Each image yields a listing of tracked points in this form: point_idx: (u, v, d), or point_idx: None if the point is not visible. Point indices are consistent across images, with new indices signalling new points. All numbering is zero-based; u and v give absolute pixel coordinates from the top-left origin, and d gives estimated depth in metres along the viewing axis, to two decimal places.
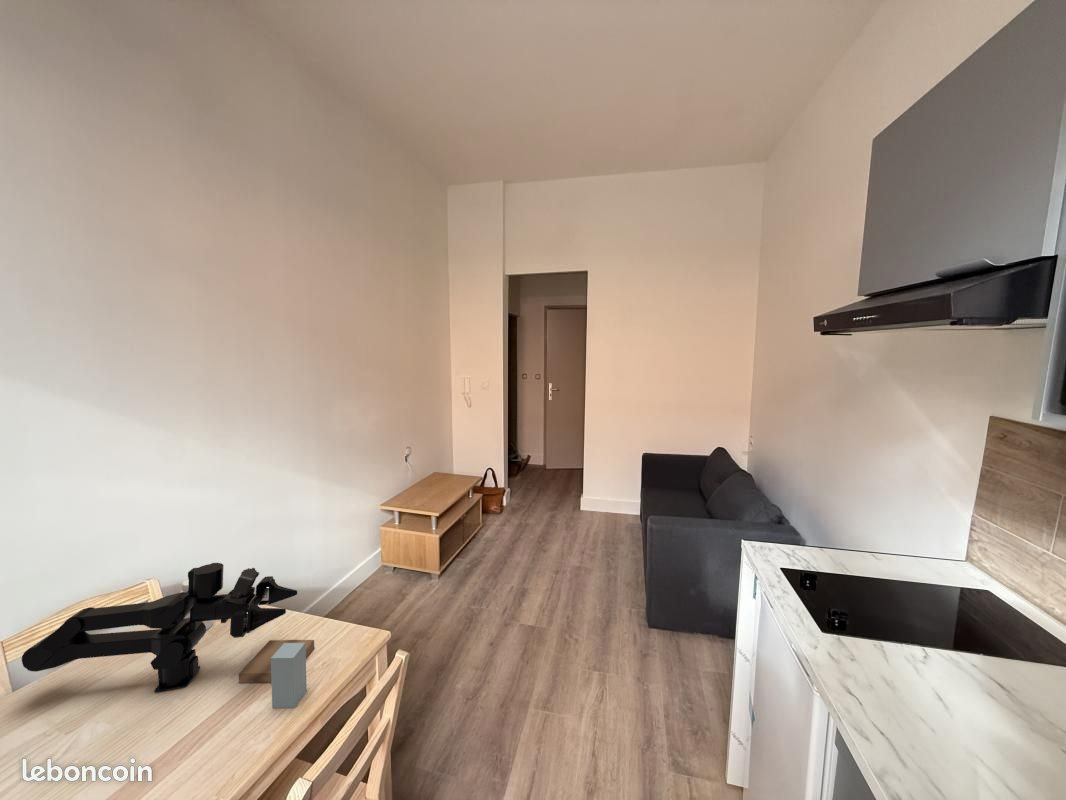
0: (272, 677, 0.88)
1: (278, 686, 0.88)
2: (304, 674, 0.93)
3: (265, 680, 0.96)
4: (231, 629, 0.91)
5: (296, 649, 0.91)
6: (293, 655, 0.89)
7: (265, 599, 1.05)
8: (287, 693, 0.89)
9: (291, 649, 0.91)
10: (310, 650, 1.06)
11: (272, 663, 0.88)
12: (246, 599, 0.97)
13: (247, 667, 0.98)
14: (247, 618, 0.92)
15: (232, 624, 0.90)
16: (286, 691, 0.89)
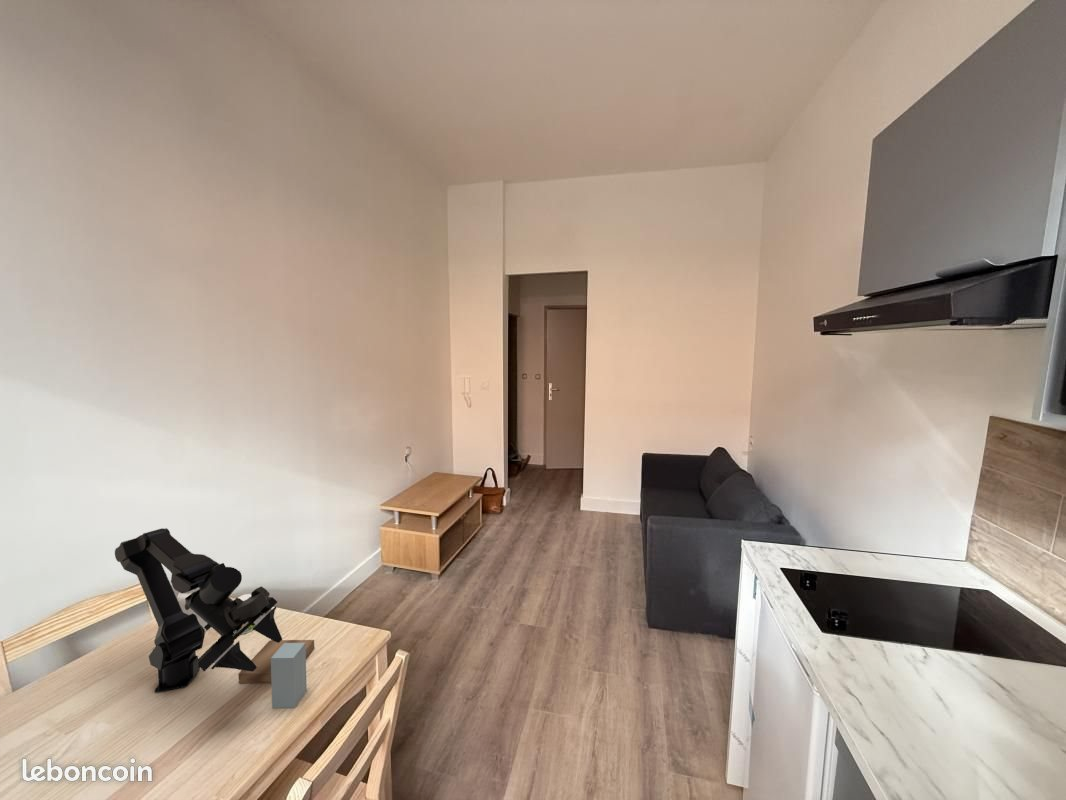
0: (272, 677, 0.88)
1: (278, 686, 0.88)
2: (304, 674, 0.93)
3: (265, 680, 0.96)
4: (202, 657, 0.81)
5: (296, 649, 0.91)
6: (293, 655, 0.89)
7: (254, 622, 0.95)
8: (287, 693, 0.89)
9: (291, 649, 0.91)
10: (310, 650, 1.06)
11: (272, 663, 0.88)
12: (238, 625, 0.88)
13: None
14: (221, 656, 0.82)
15: (206, 654, 0.80)
16: (286, 691, 0.89)
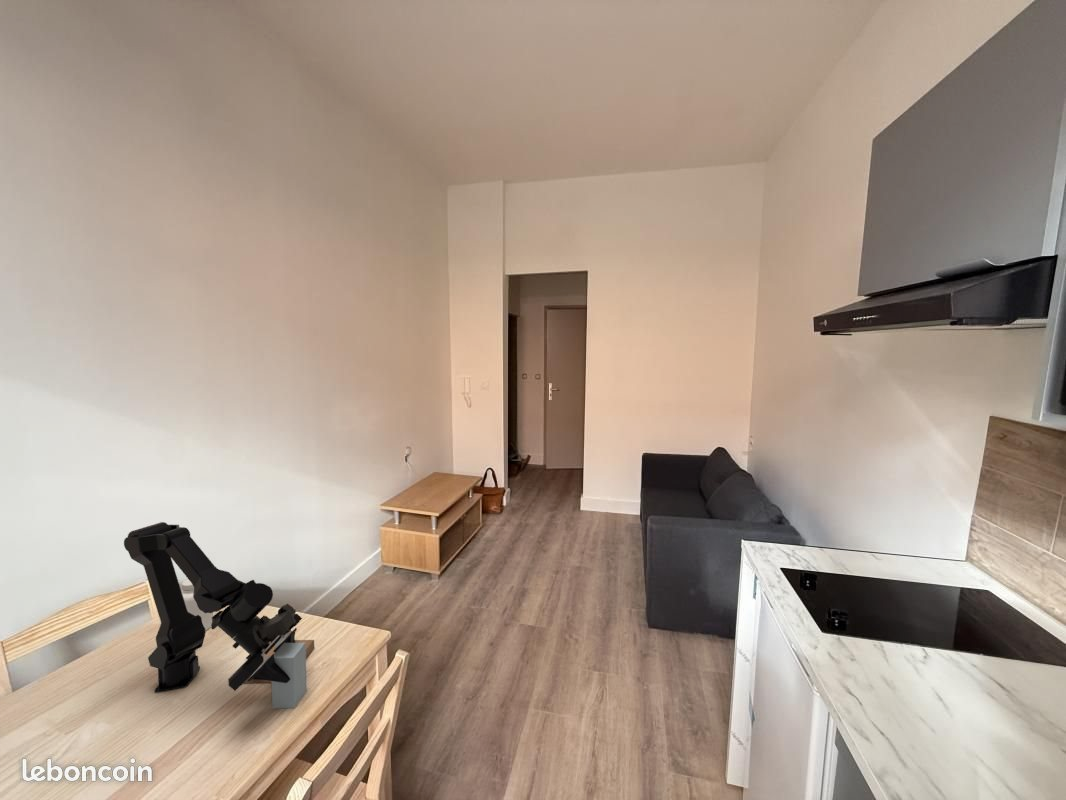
0: None
1: (278, 686, 0.88)
2: (304, 674, 0.93)
3: (265, 680, 0.96)
4: (232, 677, 0.81)
5: (296, 649, 0.91)
6: (293, 655, 0.89)
7: (274, 645, 0.94)
8: (287, 693, 0.89)
9: (291, 649, 0.91)
10: (310, 650, 1.06)
11: None
12: (266, 643, 0.88)
13: None
14: (258, 669, 0.84)
15: (237, 674, 0.81)
16: (286, 691, 0.89)
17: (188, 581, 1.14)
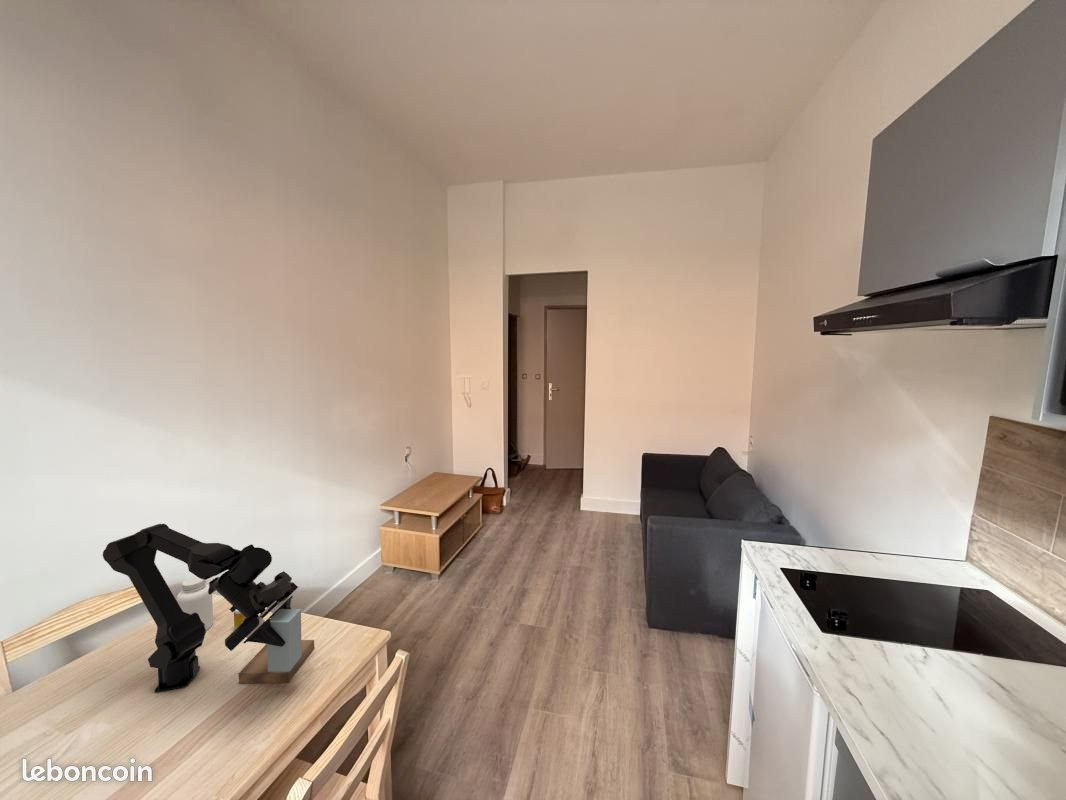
0: None
1: (274, 649, 0.91)
2: (299, 639, 0.95)
3: (265, 680, 0.96)
4: (229, 637, 0.83)
5: (292, 614, 0.93)
6: (289, 620, 0.91)
7: (271, 611, 0.96)
8: (282, 656, 0.91)
9: (287, 614, 0.93)
10: (310, 650, 1.06)
11: None
12: (262, 608, 0.90)
13: (247, 667, 0.98)
14: (253, 631, 0.87)
15: (233, 634, 0.83)
16: (281, 655, 0.91)
17: (188, 581, 1.14)
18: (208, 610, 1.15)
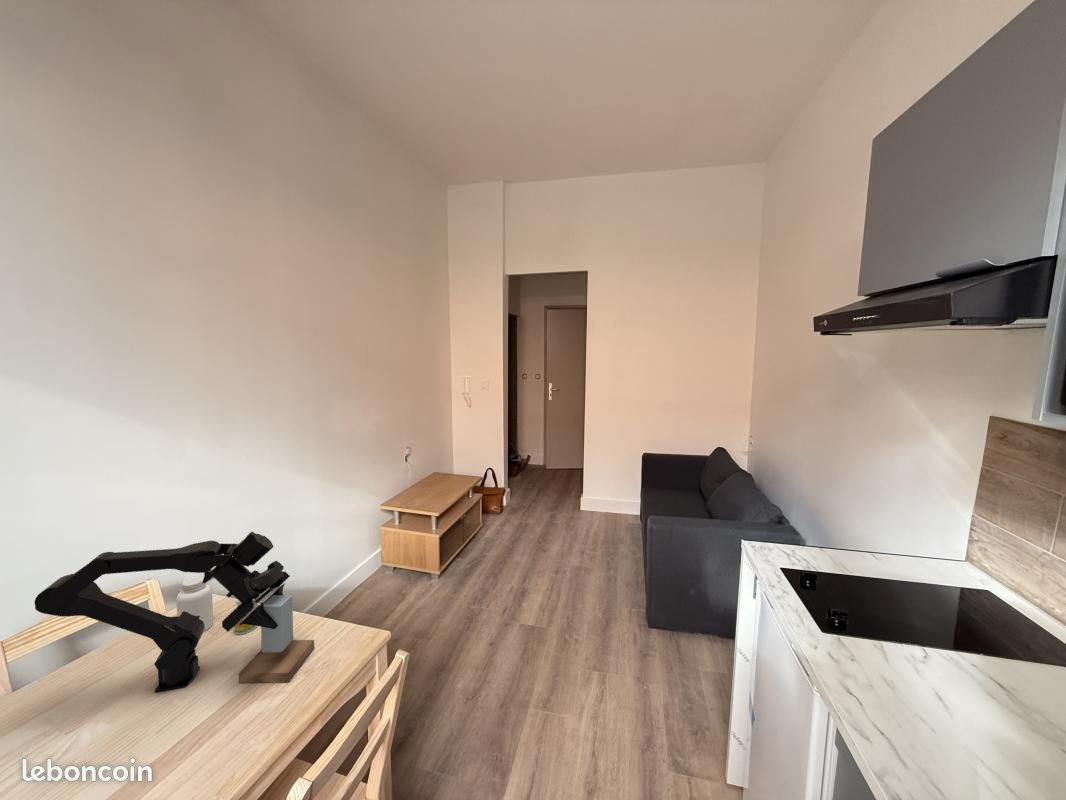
0: None
1: (267, 631, 0.99)
2: (291, 623, 1.03)
3: (265, 680, 0.96)
4: (226, 619, 0.91)
5: (284, 600, 1.01)
6: (281, 604, 0.99)
7: (264, 597, 1.04)
8: (275, 638, 0.99)
9: (279, 600, 1.01)
10: (310, 650, 1.06)
11: None
12: (256, 593, 0.98)
13: (247, 667, 0.98)
14: (248, 614, 0.95)
15: (230, 617, 0.91)
16: (274, 637, 0.99)
17: (188, 581, 1.14)
18: (208, 610, 1.15)
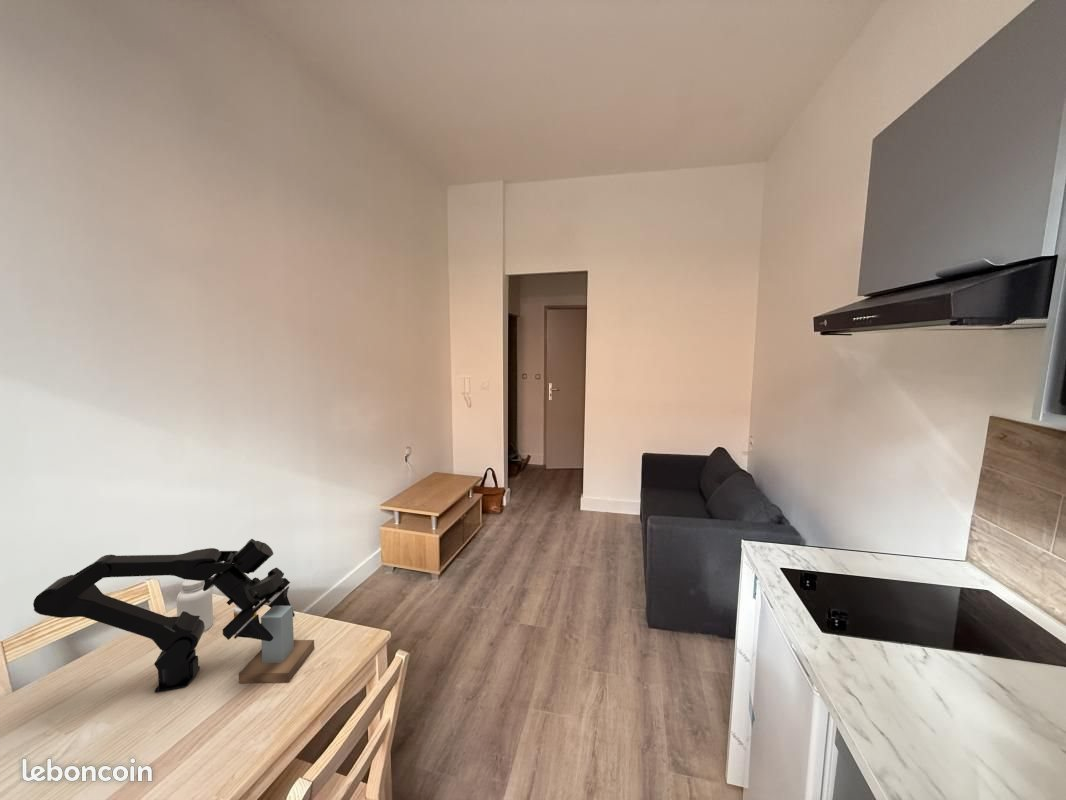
0: None
1: (268, 642, 0.99)
2: (291, 633, 1.03)
3: (265, 680, 0.96)
4: (226, 627, 0.92)
5: (284, 610, 1.01)
6: (281, 615, 0.99)
7: (269, 600, 1.06)
8: (276, 649, 0.99)
9: (279, 610, 1.01)
10: (310, 650, 1.06)
11: (262, 622, 0.98)
12: (257, 601, 0.99)
13: (247, 667, 0.98)
14: (243, 627, 0.93)
15: (230, 624, 0.91)
16: (274, 647, 0.99)
17: (188, 581, 1.14)
18: (208, 610, 1.15)
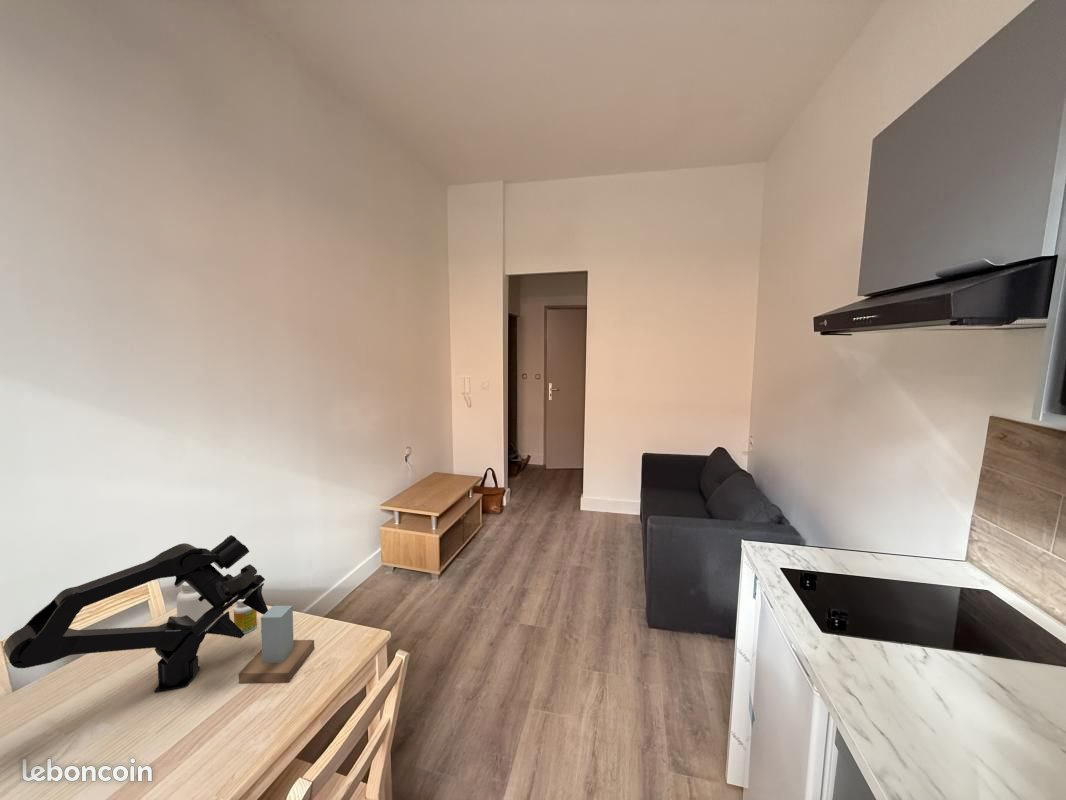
0: (262, 634, 0.99)
1: (268, 642, 0.99)
2: (291, 633, 1.03)
3: (265, 680, 0.96)
4: (195, 624, 0.91)
5: (284, 610, 1.01)
6: (281, 615, 0.99)
7: (243, 597, 1.06)
8: (276, 649, 0.99)
9: (279, 610, 1.01)
10: (310, 650, 1.06)
11: (262, 622, 0.98)
12: (228, 597, 0.98)
13: (247, 667, 0.98)
14: (213, 624, 0.92)
15: (199, 621, 0.91)
16: (274, 647, 0.99)
17: None
18: None
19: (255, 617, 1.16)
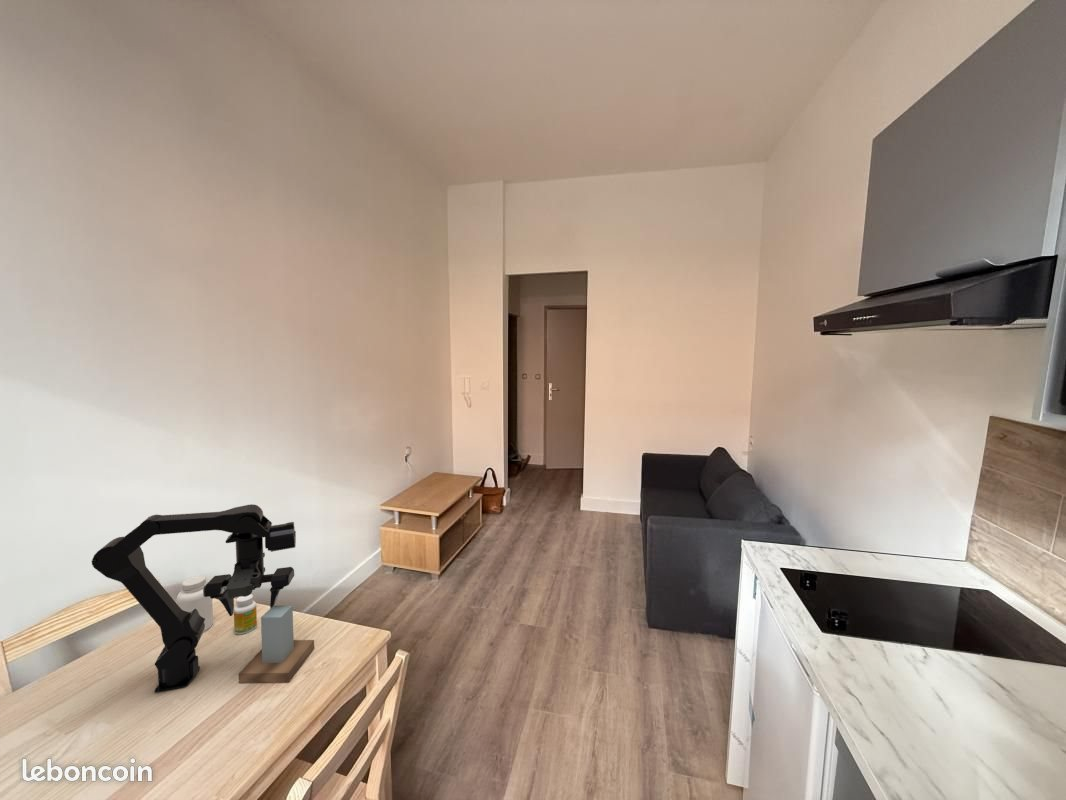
0: (262, 634, 0.99)
1: (268, 642, 0.99)
2: (291, 633, 1.03)
3: (265, 680, 0.96)
4: (210, 580, 1.00)
5: (284, 610, 1.01)
6: (281, 615, 0.99)
7: None
8: (276, 649, 0.99)
9: (279, 610, 1.01)
10: (310, 650, 1.06)
11: (262, 622, 0.98)
12: None
13: (247, 667, 0.98)
14: None
15: (207, 583, 0.99)
16: (274, 647, 0.99)
17: (188, 581, 1.14)
18: (208, 610, 1.15)
19: (255, 617, 1.16)
